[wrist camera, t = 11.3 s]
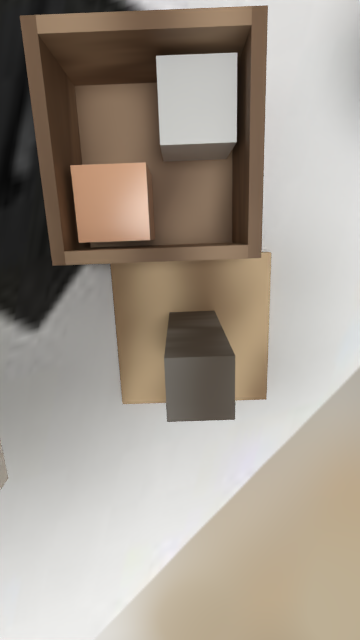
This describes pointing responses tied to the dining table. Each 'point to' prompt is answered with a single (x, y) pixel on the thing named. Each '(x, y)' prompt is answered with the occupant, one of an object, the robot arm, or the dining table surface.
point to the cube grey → (197, 105)
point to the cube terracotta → (113, 202)
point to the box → (146, 127)
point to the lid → (193, 334)
